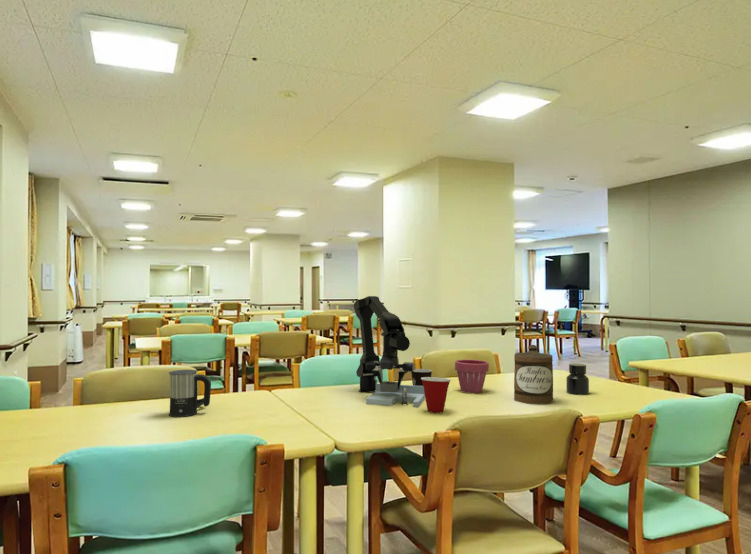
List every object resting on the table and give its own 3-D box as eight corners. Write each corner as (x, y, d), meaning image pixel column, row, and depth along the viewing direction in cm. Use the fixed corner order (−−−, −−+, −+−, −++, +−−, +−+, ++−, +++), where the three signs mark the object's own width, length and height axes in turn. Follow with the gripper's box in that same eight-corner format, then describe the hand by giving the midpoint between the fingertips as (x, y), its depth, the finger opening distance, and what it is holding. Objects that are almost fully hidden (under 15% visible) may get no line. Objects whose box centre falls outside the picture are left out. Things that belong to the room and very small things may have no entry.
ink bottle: (594, 393, 225) (594, 365, 226) (581, 396, 220) (581, 367, 221) (574, 390, 233) (574, 362, 234) (561, 392, 228) (561, 364, 229)
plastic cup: (454, 409, 194) (454, 376, 194) (445, 415, 184) (445, 381, 184) (426, 406, 199) (426, 374, 199) (416, 412, 189) (416, 378, 189)
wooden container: (515, 403, 205) (516, 346, 205) (512, 395, 220) (512, 342, 220) (556, 405, 203) (556, 347, 203) (549, 397, 217) (549, 343, 218)
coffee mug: (432, 396, 216) (432, 372, 216) (411, 396, 216) (411, 372, 216) (430, 391, 228) (430, 367, 228) (410, 391, 228) (410, 367, 228)
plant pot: (493, 390, 231) (493, 360, 231) (481, 395, 219) (481, 364, 219) (462, 387, 239) (462, 358, 239) (449, 392, 227) (449, 361, 227)
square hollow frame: (380, 391, 207) (380, 383, 208) (384, 388, 214) (384, 381, 214) (396, 392, 206) (396, 384, 206) (399, 389, 212) (399, 382, 212)
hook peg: (401, 404, 202) (401, 388, 202) (402, 403, 204) (402, 387, 204) (406, 404, 201) (406, 388, 201) (407, 403, 203) (407, 387, 203)
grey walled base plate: (366, 404, 202) (366, 390, 202) (376, 395, 217) (376, 383, 217) (418, 407, 197) (418, 393, 197) (424, 398, 212) (425, 386, 213)
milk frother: (169, 418, 177) (170, 374, 178) (164, 409, 191) (165, 367, 192) (213, 414, 184) (214, 371, 184) (205, 405, 198) (206, 365, 198)
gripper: (362, 349, 205) (361, 390, 204) (410, 351, 200) (409, 393, 200) (369, 346, 215) (369, 385, 215) (415, 348, 211) (414, 387, 211)
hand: (390, 387), depth 210 cm, fingers closed on square hollow frame, 6 cm apart
